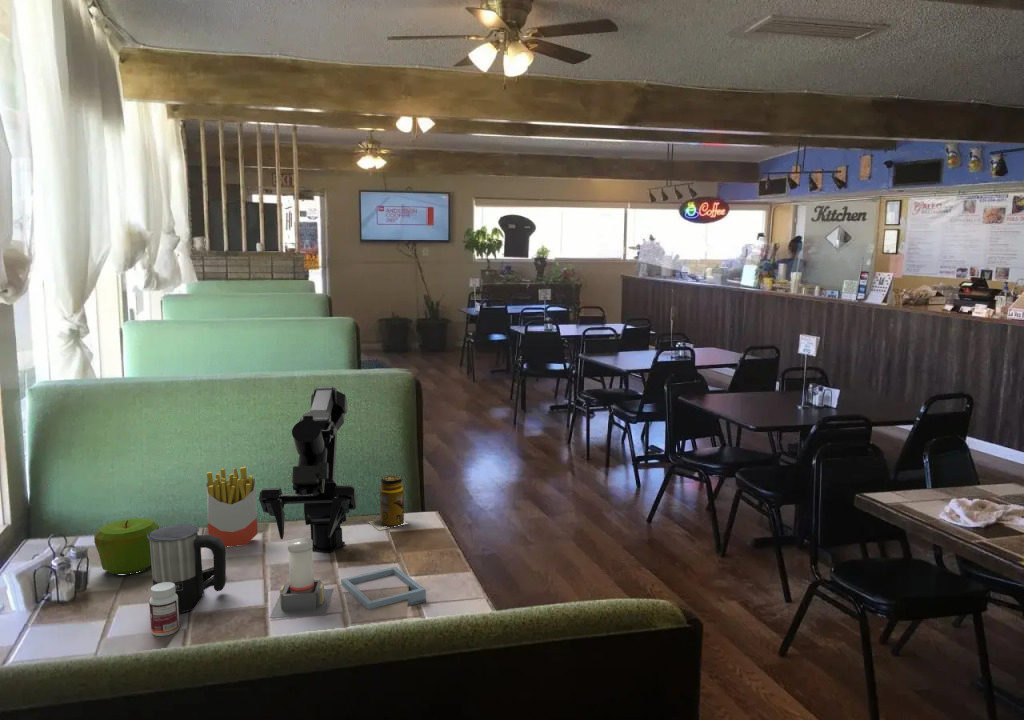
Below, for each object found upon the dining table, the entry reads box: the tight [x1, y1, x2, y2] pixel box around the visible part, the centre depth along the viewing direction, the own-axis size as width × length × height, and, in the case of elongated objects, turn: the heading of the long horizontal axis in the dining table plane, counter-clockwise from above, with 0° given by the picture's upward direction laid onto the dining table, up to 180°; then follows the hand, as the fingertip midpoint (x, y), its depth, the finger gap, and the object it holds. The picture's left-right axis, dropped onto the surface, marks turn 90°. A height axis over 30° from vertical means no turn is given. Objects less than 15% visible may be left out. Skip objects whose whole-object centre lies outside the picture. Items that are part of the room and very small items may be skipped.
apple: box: [93, 517, 160, 575], centre depth 167 cm, size 12×12×11 cm
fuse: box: [287, 537, 315, 594], centre depth 147 cm, size 5×5×12 cm
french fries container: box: [205, 466, 258, 548], centre depth 183 cm, size 5×11×18 cm, turn 109°
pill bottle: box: [148, 582, 181, 637], centre depth 139 cm, size 5×5×8 cm
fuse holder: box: [269, 579, 334, 619], centre depth 147 cm, size 12×10×5 cm
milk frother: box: [147, 524, 227, 614], centre depth 153 cm, size 14×16×15 cm
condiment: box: [368, 475, 405, 531], centre depth 197 cm, size 7×8×12 cm
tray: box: [340, 566, 427, 610], centre depth 153 cm, size 14×12×2 cm
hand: (305, 537), depth 152 cm, fingers open, 9 cm apart
